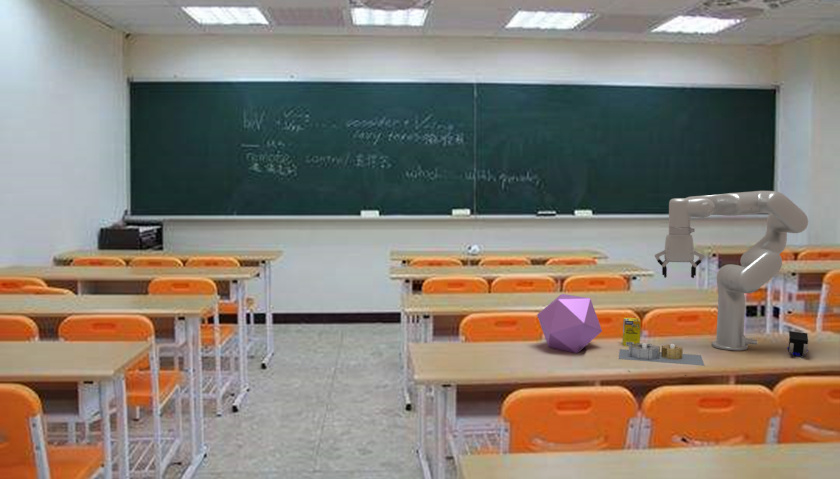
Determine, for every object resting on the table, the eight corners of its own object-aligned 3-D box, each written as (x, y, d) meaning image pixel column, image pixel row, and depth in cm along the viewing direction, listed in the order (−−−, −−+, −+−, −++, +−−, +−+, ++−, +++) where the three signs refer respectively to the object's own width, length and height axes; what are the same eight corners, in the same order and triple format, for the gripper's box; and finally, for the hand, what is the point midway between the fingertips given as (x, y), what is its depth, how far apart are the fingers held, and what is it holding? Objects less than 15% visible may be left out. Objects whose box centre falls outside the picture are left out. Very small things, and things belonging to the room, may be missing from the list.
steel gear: (658, 353, 261) (659, 344, 260) (659, 360, 251) (660, 350, 250) (628, 351, 264) (629, 342, 263) (628, 358, 254) (628, 348, 253)
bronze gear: (681, 355, 258) (682, 345, 258) (682, 360, 252) (683, 350, 252) (661, 353, 260) (661, 344, 260) (661, 358, 254) (662, 348, 254)
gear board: (700, 358, 259) (701, 342, 259) (704, 369, 245) (705, 352, 245) (619, 352, 267) (620, 337, 267) (618, 362, 253) (619, 346, 252)
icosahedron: (615, 339, 259) (597, 279, 272) (561, 341, 254) (545, 280, 267) (591, 363, 277) (575, 306, 290) (540, 366, 272) (526, 307, 285)
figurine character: (808, 364, 259) (806, 350, 272) (810, 343, 257) (808, 330, 271) (787, 362, 262) (786, 348, 275) (788, 341, 260) (787, 329, 274)
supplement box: (640, 350, 271) (641, 321, 270) (623, 349, 272) (624, 320, 271) (638, 346, 277) (639, 318, 276) (622, 345, 278) (623, 317, 277)
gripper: (703, 230, 271) (702, 276, 272) (654, 230, 275) (653, 275, 277) (705, 232, 263) (704, 279, 265) (655, 232, 268) (655, 278, 269)
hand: (678, 277), depth 271 cm, fingers open, 9 cm apart
